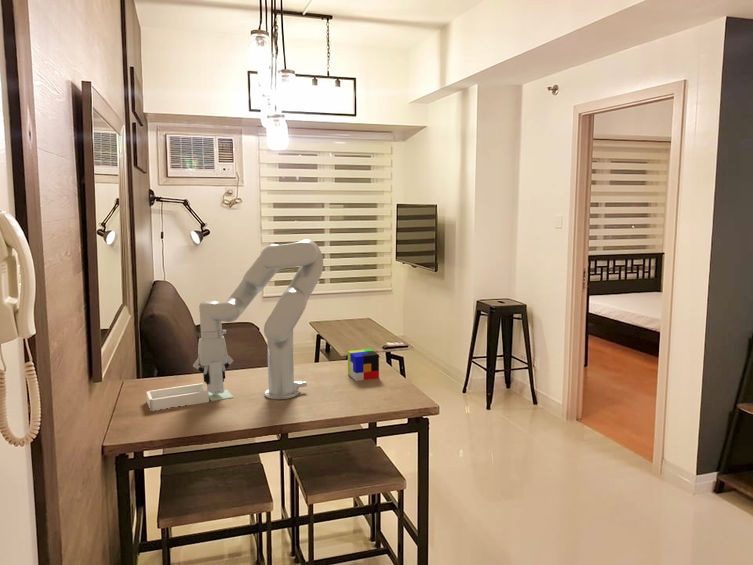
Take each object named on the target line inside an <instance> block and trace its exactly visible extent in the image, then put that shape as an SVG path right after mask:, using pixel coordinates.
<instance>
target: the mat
mask: <svg viewBox="0 0 753 565" xmlns="http://www.w3.org/2000/svg"><path fill="white" fill-rule="evenodd" d="M233 398H234V396H233V394H232V393H231V392H230V391H229V390H228V389H227V388H226V389H225V388H224V393H220V394H215V395H214V394H212V393H210V392H209V401H211V402H214V401H221V400H226V399H227V400H228V399H233Z"/></svg>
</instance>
